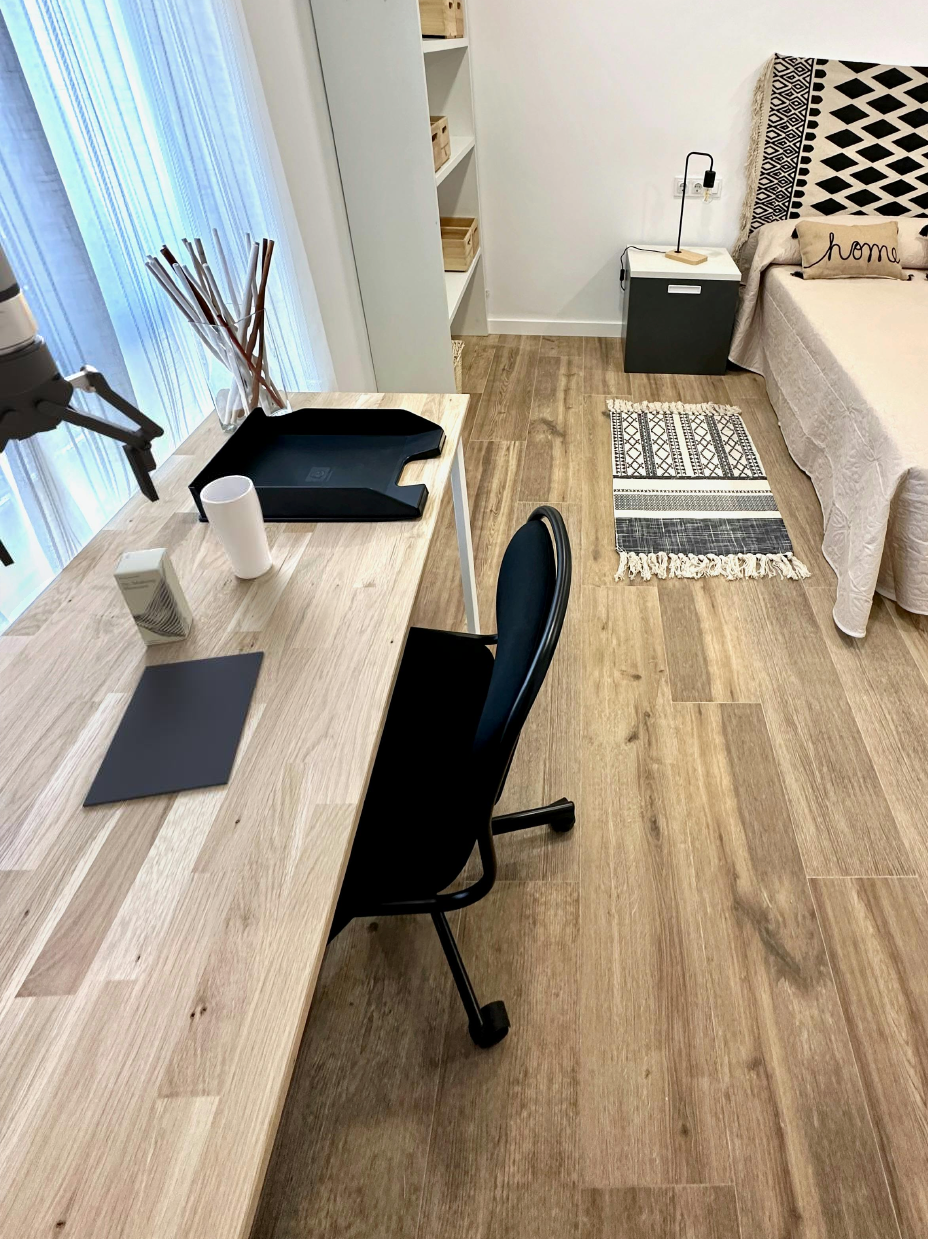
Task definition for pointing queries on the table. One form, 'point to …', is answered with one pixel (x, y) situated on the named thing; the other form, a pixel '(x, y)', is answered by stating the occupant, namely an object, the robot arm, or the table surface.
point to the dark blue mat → (178, 729)
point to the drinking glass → (238, 524)
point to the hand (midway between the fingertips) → (83, 526)
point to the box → (154, 595)
